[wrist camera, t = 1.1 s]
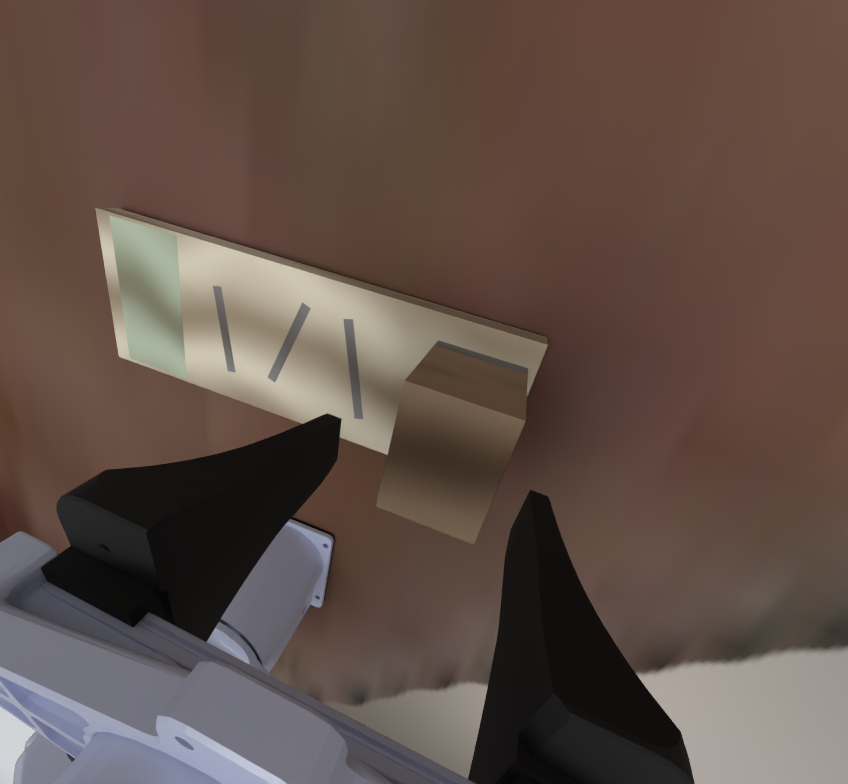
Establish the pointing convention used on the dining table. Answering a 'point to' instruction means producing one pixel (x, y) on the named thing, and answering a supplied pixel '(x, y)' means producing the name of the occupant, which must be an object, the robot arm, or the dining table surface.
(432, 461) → the eraser block
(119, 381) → the dining table surface
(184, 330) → the birch board
